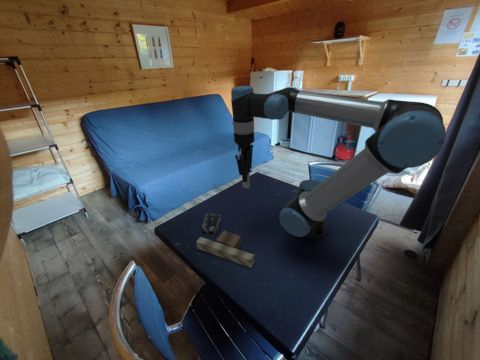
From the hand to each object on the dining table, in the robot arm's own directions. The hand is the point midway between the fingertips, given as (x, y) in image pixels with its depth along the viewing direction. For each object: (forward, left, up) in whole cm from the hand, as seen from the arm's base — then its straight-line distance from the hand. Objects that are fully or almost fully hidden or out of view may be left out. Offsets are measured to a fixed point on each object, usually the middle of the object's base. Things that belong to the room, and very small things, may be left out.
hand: (246, 187), depth 94 cm
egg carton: (+15, +7, -21) cm, 27 cm away
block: (+2, +15, -21) cm, 26 cm away
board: (+1, +20, -21) cm, 29 cm away
